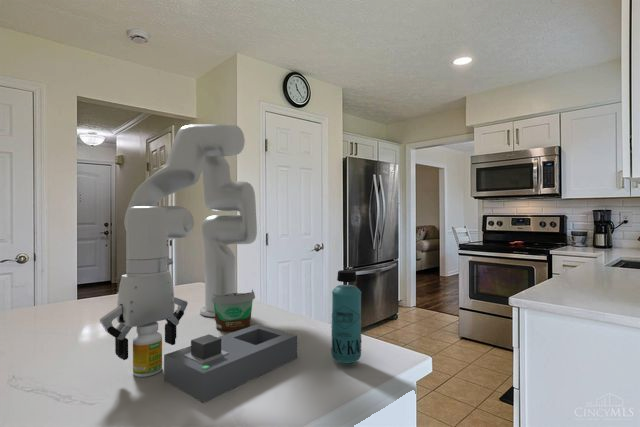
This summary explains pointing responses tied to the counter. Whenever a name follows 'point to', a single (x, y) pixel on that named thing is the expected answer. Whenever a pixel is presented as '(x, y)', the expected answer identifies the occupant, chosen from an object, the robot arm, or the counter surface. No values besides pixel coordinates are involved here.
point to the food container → (233, 311)
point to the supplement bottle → (147, 350)
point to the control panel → (228, 360)
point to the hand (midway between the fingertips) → (147, 350)
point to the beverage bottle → (346, 319)
